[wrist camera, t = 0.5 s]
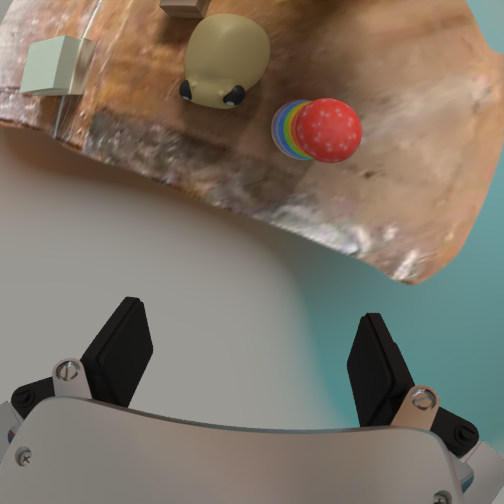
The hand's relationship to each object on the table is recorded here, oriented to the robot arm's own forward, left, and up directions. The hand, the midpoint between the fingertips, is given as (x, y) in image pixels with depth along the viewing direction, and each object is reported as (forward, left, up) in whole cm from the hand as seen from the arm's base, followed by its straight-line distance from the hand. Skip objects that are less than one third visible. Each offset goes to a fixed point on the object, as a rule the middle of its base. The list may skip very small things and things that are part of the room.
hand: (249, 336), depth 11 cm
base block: (-14, -36, -29) cm, 48 cm away
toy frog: (-15, -9, -29) cm, 34 cm away
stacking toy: (-9, +2, -29) cm, 31 cm away
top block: (-14, -35, -25) cm, 46 cm away
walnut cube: (-25, -17, -29) cm, 42 cm away
